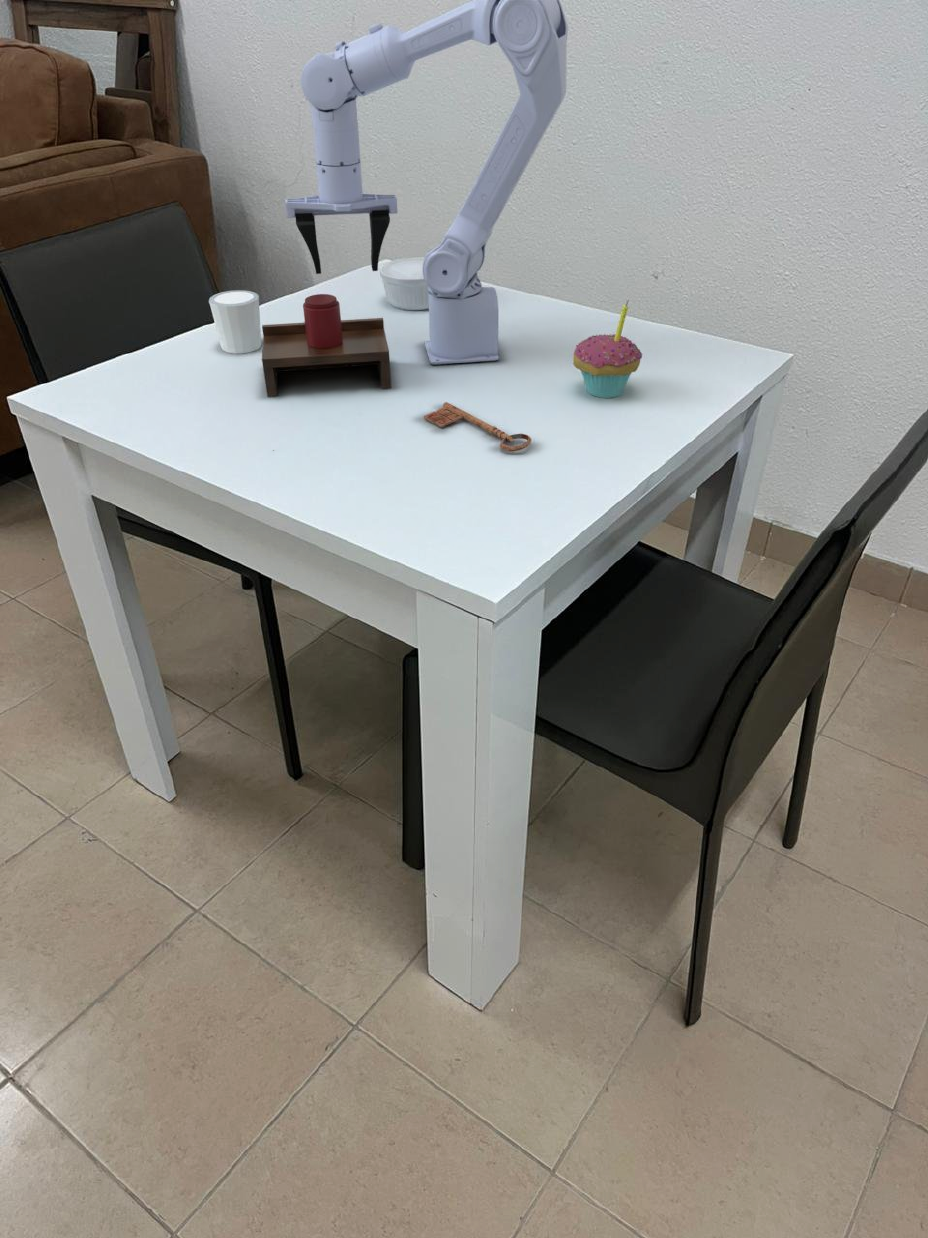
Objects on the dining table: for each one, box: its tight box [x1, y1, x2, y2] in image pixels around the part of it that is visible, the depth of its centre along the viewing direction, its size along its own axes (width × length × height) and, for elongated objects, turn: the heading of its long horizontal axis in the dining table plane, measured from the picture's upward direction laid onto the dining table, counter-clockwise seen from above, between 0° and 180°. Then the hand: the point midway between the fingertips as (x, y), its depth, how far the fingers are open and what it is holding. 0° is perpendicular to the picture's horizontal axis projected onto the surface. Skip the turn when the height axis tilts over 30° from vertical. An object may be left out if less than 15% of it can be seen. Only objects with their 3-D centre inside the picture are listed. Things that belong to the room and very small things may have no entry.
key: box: [423, 401, 532, 452], centre depth 110 cm, size 6×1×15 cm
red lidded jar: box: [302, 293, 343, 349], centre depth 118 cm, size 5×5×6 cm
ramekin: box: [379, 256, 429, 311], centre depth 146 cm, size 11×11×5 cm
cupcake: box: [572, 299, 643, 399], centre depth 115 cm, size 9×8×12 cm
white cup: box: [208, 289, 262, 355], centre depth 130 cm, size 7×7×7 cm
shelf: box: [261, 317, 392, 398], centre depth 121 cm, size 16×9×6 cm, turn 99°
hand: (346, 270), depth 126 cm, fingers open, 7 cm apart
